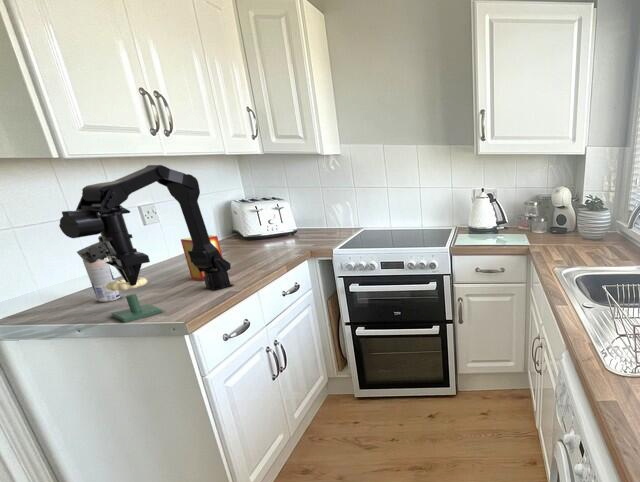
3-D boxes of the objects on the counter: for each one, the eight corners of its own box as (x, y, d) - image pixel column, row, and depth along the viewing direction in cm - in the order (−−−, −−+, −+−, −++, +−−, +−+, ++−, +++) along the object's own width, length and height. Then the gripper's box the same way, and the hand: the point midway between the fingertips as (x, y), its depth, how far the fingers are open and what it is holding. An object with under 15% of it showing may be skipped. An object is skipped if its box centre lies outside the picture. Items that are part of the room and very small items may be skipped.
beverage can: (125, 297, 141) (110, 254, 136) (108, 302, 136) (92, 258, 131) (110, 296, 142) (94, 254, 136) (93, 302, 136) (76, 258, 131)
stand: (149, 307, 132) (142, 289, 129) (161, 312, 127) (155, 293, 125) (112, 316, 124) (105, 297, 122) (124, 322, 120) (117, 302, 118)
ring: (140, 281, 129) (138, 275, 128) (152, 284, 124) (150, 278, 124) (103, 289, 122) (100, 282, 121) (114, 292, 117) (111, 286, 116)
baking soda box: (203, 280, 159) (191, 239, 153) (191, 279, 161) (180, 238, 156) (226, 274, 167) (216, 235, 162) (215, 272, 169) (205, 234, 164)
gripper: (63, 233, 114) (83, 287, 119) (87, 239, 105) (108, 297, 110) (115, 227, 123) (131, 277, 128) (141, 232, 114) (158, 286, 119)
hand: (131, 284), depth 121 cm, fingers closed on ring, 2 cm apart
